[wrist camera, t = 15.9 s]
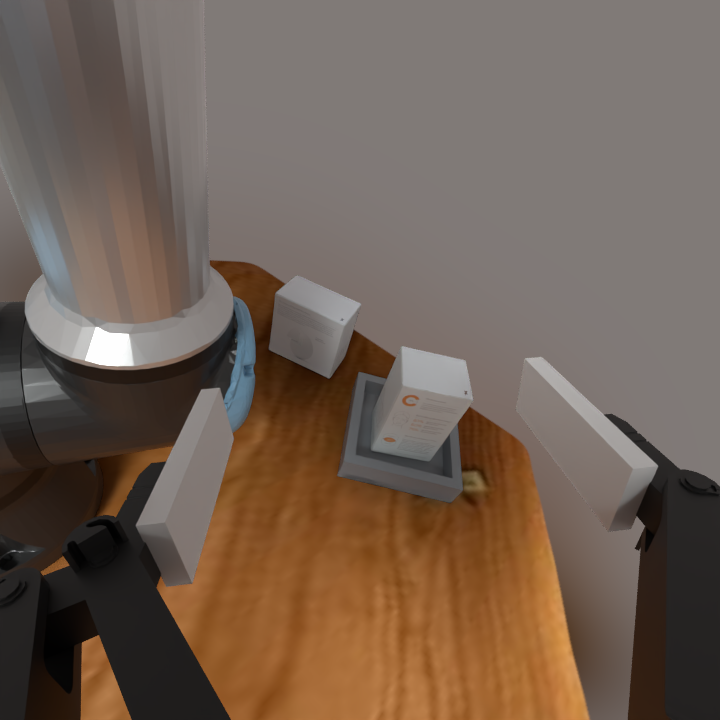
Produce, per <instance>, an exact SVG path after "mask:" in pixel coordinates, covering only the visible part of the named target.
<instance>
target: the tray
mask: <svg viewBox="0 0 720 720" xmlns="http://www.w3.org/2000/svg"><path fill="white" fill-rule="evenodd" d="M386 380H387V379H385V378H381V377H377V376H373V375H369V374H366V373H362V372H359V373H358V375H357V378H356V381H355V383H354V386H353V390H352V396H351V402H350V407H349V413H348V419H347V424H346V430H345V436H344V441H343V447H342V452H341V458H340V464H339V469H338V475H337V476H339V477H344V478H348V479H352V480H356V481H360V482H365V483H369V484H373V485H377V486H381V487H386V488H390V489H394V490H398V491H402V492H406V493H411V494H415V495H419V496H423V497H427V498H432V499H436V500H440V501H444V502H448V503H451V502H452V501H453V500H454V499H455V498H456V497H457V496H458V495H459V494H460V493H461V492H462V491H463V485H462V472H461V460H460V448H459V435H458V423H457V424H456V426H455V427H454V428H453V430H452V431H451V433H450V434H449V435H448V437H447V438H446V440H445V441H444V442H443V444H442V445H441V446H440V448H439V449H438V451H437V452H436V453H435V455H434V456H433V458H432V459H431V460H430V462H428V461H422V460H417V459H411V458H406V457H400V456H395V455H390V454H385V453H379V452H374V451H371V432H372V412H373V410H374V407H375V405H376V403H377V401H378V398H379V396H380V393H381V391H382V389H383V387H384V384H385V382H386Z"/></svg>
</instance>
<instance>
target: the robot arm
mask: <svg viewBox="0 0 720 720" xmlns="http://www.w3.org/2000/svg"><path fill="white" fill-rule="evenodd" d="M204 31H205V29H204V0H0V166H1V168H2V170H3V173H4V176H5V178H6V181H7V183H8V186H9V188H10V191H11V193H12V196H13V198H14V201H15V203H16V206H17V208H18V210H19V213H20V216H21V218H22V221H23V224H24V226H25V229H26V231H27V233H28V236H29V239H30V241H31V244H32V246H33V249H34V251H35V254H36V256H37V259H38V262H39V264H40V267H41V269H42V272H43V275H41V277H39V278H38V279H37V281H36V282H35V283H34V284H33V285H32V287H31V289H30V291H29V293H28V295H27V298H26V301H25V302H0V720H80V717H81V654H82V642H84V641H86V640H88V639H90V638H93V637H95V636H97V635H99V636H100V639H101V641H102V644H103V646H104V649H105V652H106V654H107V657H108V659H109V662H110V665H111V667H112V670H113V672H114V675H115V678H116V680H117V683H118V685H119V688H120V690H121V693H122V696H123V698H124V701H125V703H126V706H127V709H128V711H129V714H130V716H131V719H132V720H231V719H230V717H229V715H228V714H227V712H226V710H225V708H224V707H223V705H222V703H221V701H220V700H219V698H218V696H217V694H216V692H215V691H214V689H213V687H212V685H211V684H210V682H209V680H208V678H207V677H206V675H205V673H204V671H203V670H202V668H201V666H200V664H199V662H198V661H197V659H196V657H195V655H194V654H193V652H192V650H191V648H190V647H189V645H188V643H187V641H186V640H185V638H184V636H183V634H182V632H181V631H180V629H179V627H178V625H177V624H176V622H175V620H174V618H173V617H172V615H171V613H170V611H169V610H168V608H167V606H166V604H165V602H164V601H163V599H162V597H161V595H160V594H159V592H158V590H157V588H156V587H157V584H158V581H159V579H160V576H161V577H162V579H163V581H164V583H165V585H166V587H167V586H176V585H184V584H192V583H193V579H194V576H195V572H196V569H197V565H198V562H199V558H200V555H201V551H202V548H203V545H204V541H205V538H206V534H207V531H208V527H209V524H210V520H211V517H212V513H213V510H214V506H215V503H216V499H217V496H218V492H219V489H220V485H221V482H222V478H223V475H224V472H225V468H226V465H227V461H228V458H229V454H230V451H231V447H232V444H233V440H234V437H233V434H232V433H233V432H235V431H236V430H237V429H239V428H240V427H241V425H242V424H243V423H244V421H245V420H246V418H247V416H248V413H249V410H250V407H251V403H252V399H253V394H254V387H255V374H254V370H253V367H254V364H255V361H256V348H255V337H254V329H253V324H252V320H251V316H250V313H249V310H248V308H247V306H246V304H245V303H244V302H243V301H242V300H241V299H239V298H237V297H233V295H232V292H231V289H230V288H229V286H228V284H227V282H226V281H225V279H224V278H223V277H222V276H221V275H220V274H219V273H218V272H217V271H216V270H215V269H213V268H212V267H211V266H210V260H209V216H208V171H207V170H208V168H207V123H206V78H205V77H206V76H205V32H204ZM516 411H517V412H518V413H519V415H520V416H521V417H522V418H523V420H524V421H525V422H526V424H527V425H528V426H529V428H530V429H531V430H532V432H533V433H534V434H535V436H536V437H537V438H538V440H539V441H540V442H541V444H542V445H543V446H544V448H545V449H546V450H547V452H548V453H549V454H550V456H551V457H552V458H553V459H554V461H555V462H556V463H557V465H558V466H559V467H560V469H561V470H562V471H563V473H564V474H565V475H566V477H567V478H568V479H569V481H570V482H571V483H572V485H573V486H574V487H575V489H576V490H577V491H578V493H579V494H580V495H581V496H582V498H583V499H584V501H585V502H586V503H587V505H588V506H589V507H590V509H591V510H592V511H593V513H594V514H595V515H596V516H597V518H598V519H599V520H600V522H601V523H602V524H603V526H604V527H605V528H606V530H607V531H608V532H611V531H619V530H627V529H631V528H632V525H633V523H634V520H635V518H636V516H637V517H638V518H639V519H640V520H641V521H642V523H643V524H644V525H645V528H644V530H643V532H642V534H641V537H640V539H639V541H638V543H637V545H636V547H635V549H636V550H639V549H640V548H641V553H640V566H639V580H638V592H637V605H636V619H635V631H634V644H633V657H632V671H631V684H630V697H629V710H628V720H720V486H718V485H717V484H716V483H715V482H714V481H713V480H711V479H709V478H708V477H706V476H704V475H701V474H699V473H697V472H693V471H689V470H680V469H679V468H677V467H676V466H675V465H674V464H673V463H672V462H671V461H670V460H669V459H667V458H666V457H665V456H664V455H663V454H662V453H661V452H660V451H658V450H657V449H656V448H655V447H654V446H653V445H652V444H650V443H649V442H647V441H646V439H645V438H644V437H643V436H642V435H641V434H638V433H637V431H636V430H635V429H634V428H632V426H630V425H629V424H628V423H627V422H626V421H624V420H622V419H620V418H618V417H616V416H615V415H613V414H606V415H603V414H602V413H601V412H600V411H599V410H598V409H597V408H596V407H595V406H593V404H591V403H590V402H589V401H588V400H587V399H586V398H585V397H584V396H583V395H582V394H581V393H580V392H579V391H578V390H577V389H576V388H574V387H573V386H572V385H571V384H570V383H569V382H568V381H567V380H566V379H565V378H564V377H563V376H561V374H559V373H558V372H557V371H556V370H555V369H554V368H553V367H552V366H551V365H550V364H549V363H548V362H547V361H546V360H545V359H543V358H542V357H537V358H526V359H525V360H524V366H523V372H522V377H521V383H520V389H519V394H518V400H517V406H516ZM170 446H174V447H173V449H172V451H171V453H170V455H169V457H168V460H167V462H159V463H151V464H150V465H149V466H148V467H147V468H146V469H145V470H144V471H143V472H142V473H141V474H140V475H139V476H138V478H137V480H136V482H135V483H134V485H133V487H132V488H133V489H132V490H131V491H130V493H129V494H128V496H127V500H125V502H124V504H123V505H122V507H121V509H120V511H119V513H118V515H117V516H116V518H115V517H114V516H109V515H103V516H98V517H94V516H95V514H96V512H97V510H98V508H99V505H100V502H101V498H102V493H103V475H102V471H101V468H100V465H99V463H98V461H97V459H98V458H104V457H110V456H116V455H121V454H127V453H133V452H139V451H145V450H151V449H158V448H164V447H170ZM62 555H63V556H64V558H65V559H66V560H67V562H68V563H69V565H70V566H68V567H65V568H62V569H60V570H57V571H54V572H52V573H49V574H47V575H44V576H43V575H42V574H41V573H40V571H42V570H44V569H45V568H47V567H48V566H49V565H51V564H52V563H54V562H55V561H56V560H57V559H59V558H60V557H61V556H62Z"/></svg>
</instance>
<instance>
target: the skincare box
mask: <svg viewBox="0 0 720 720" xmlns="http://www.w3.org/2000/svg"><path fill="white" fill-rule="evenodd" d="M360 307H361V303H358V302H356V301H354V300H352V299H349V298H347V297H345V296H343V295H340V294H338V293H336V292H334V291H332V290H329V289H327V288H325V287H323V286H321V285H318V284H316V283H314V282H312V281H310V280H307V279H305V278H303V277H301V276H299V275H296V276H295V277H293V278H292V279H291V280H290V281H289V282H288V283H286V284H285V285H284V286H283V287H282V288H281V289H279V290H278V291H277V292H276V293H275V303H274V312H273V321H272V329H271V337H270V344H269V350H270V351H272V352H274V353H276V354H279V355H281V356H283V357H285V358H287V359H289V360H291V361H293V362H295V363H297V364H299V365H301V366H304V367H306V368H308V369H310V370H312V371H314V372H316V373H318V374H320V375H322V376H325V377H327V378H331V376H332V375H333V373H334V372H335V370H336V369H337V367H338V366H339V364H340V363H341V362H342V360H343V359H344V357H345V355H346V352H347V349H348V346H349V342H350V339H351V336H352V333H353V330H354V326H355V323H356V320H357V317H358V314H359V310H360Z"/></svg>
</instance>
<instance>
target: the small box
mask: <svg viewBox="0 0 720 720" xmlns="http://www.w3.org/2000/svg"><path fill="white" fill-rule="evenodd" d="M472 402H473V396H472V390H471V385H470V380H469V375H468V371H467V366H466V362H465V360H462V359H457V358H453V357H448V356H444V355H439V354H435V353H431V352H426V351H422V350H417V349H413V348H409V347H404V346H401V348H400V350H399V353H398V355H397V357H396V359H395V362H394V364H393V366H392V368H391V371H390V373H389V375H388V378H387V380H386V382H385V384H384V387H383V389H382V391H381V393H380V396H379V398H378V401H377V403H376V405H375V407H374V410H373V412H372V432H371V451H374V452H379V453H385V454H390V455H395V456H400V457H406V458H411V459H417V460H422V461H428V462H430V460H431V459H432V458H433V456H434V455H435V453H436V452H437V451H438V449H439V448H440V446H441V445H442V444H443V442H444V441H445V440H446V438H447V437H448V435H449V434H450V433H451V431H452V430H453V428H454V427H455V426H456V424H457V423H458V421H459V420H460V419H461V417H462V416H463V415H464V413H465V412H466V410H467V409H468V408H469V406H470V405H471V403H472Z"/></svg>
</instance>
